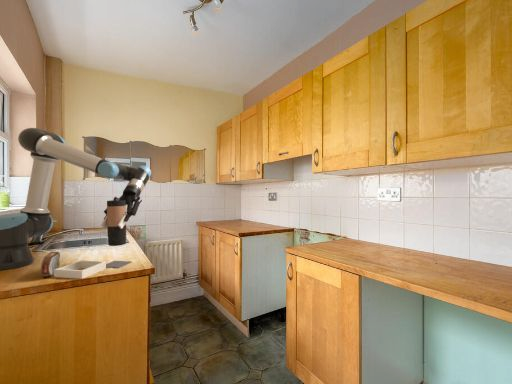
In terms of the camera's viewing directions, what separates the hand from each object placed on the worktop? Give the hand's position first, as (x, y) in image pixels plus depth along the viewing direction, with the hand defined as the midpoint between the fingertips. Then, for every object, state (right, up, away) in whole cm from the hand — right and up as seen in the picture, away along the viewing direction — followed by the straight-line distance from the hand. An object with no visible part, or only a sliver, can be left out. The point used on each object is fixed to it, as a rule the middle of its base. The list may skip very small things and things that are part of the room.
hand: (111, 226), depth 114 cm
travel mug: (+1, -9, +4) cm, 9 cm away
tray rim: (-9, -18, -7) cm, 21 cm away
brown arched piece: (-20, -19, -8) cm, 29 cm away
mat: (0, -18, +4) cm, 18 cm away
